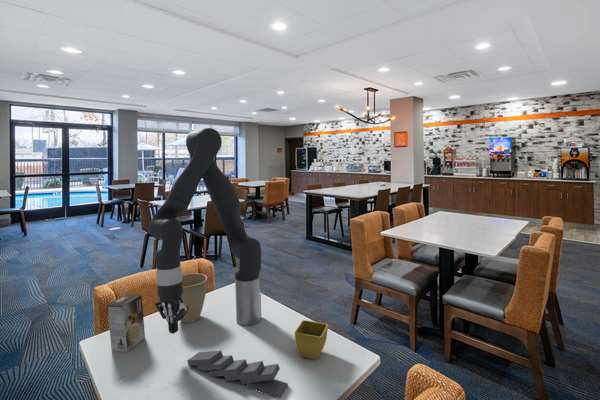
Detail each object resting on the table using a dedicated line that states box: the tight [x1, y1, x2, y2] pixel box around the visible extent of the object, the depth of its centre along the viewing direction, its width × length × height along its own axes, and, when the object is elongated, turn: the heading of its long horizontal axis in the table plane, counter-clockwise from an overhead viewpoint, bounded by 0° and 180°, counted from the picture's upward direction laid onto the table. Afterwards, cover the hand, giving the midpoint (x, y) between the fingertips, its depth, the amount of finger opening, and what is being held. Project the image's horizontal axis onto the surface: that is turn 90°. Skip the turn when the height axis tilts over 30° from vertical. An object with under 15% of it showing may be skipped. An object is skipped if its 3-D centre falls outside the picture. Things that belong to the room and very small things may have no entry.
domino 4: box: [224, 360, 265, 382], centre depth 95 cm, size 5×2×10 cm
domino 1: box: [186, 350, 224, 367], centre depth 102 cm, size 5×2×10 cm
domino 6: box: [246, 378, 289, 399], centre depth 92 cm, size 5×2×10 cm
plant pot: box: [180, 273, 208, 323], centre depth 132 cm, size 15×15×16 cm
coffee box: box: [106, 293, 146, 353], centre depth 113 cm, size 9×6×16 cm
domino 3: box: [208, 359, 248, 378], centre depth 97 cm, size 5×2×10 cm
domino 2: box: [196, 354, 235, 372], centre depth 99 cm, size 5×2×10 cm
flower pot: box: [294, 319, 329, 361], centre depth 107 cm, size 9×9×9 cm
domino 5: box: [239, 363, 281, 385], centre depth 94 cm, size 5×2×10 cm
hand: (173, 332), depth 107 cm, fingers closed
